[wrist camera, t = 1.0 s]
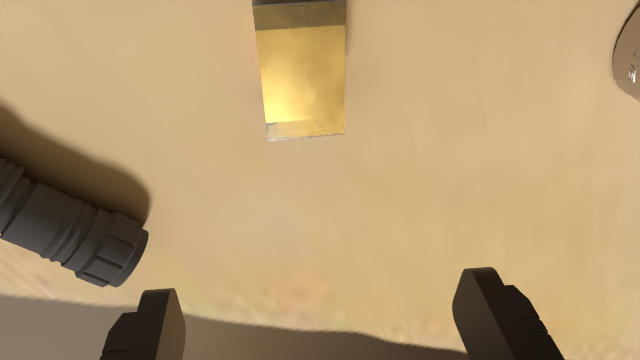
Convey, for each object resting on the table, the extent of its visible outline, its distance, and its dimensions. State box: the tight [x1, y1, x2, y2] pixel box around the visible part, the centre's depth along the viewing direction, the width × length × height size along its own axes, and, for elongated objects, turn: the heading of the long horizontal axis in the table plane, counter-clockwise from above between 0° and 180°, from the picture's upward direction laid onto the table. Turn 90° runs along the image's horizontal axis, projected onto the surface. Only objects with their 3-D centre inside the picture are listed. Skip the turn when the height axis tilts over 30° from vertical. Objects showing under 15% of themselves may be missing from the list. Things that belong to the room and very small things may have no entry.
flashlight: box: [0, 158, 149, 287], centre depth 28 cm, size 15×5×5 cm, turn 45°
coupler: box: [252, 0, 346, 141], centre depth 24 cm, size 8×4×4 cm, turn 1°
